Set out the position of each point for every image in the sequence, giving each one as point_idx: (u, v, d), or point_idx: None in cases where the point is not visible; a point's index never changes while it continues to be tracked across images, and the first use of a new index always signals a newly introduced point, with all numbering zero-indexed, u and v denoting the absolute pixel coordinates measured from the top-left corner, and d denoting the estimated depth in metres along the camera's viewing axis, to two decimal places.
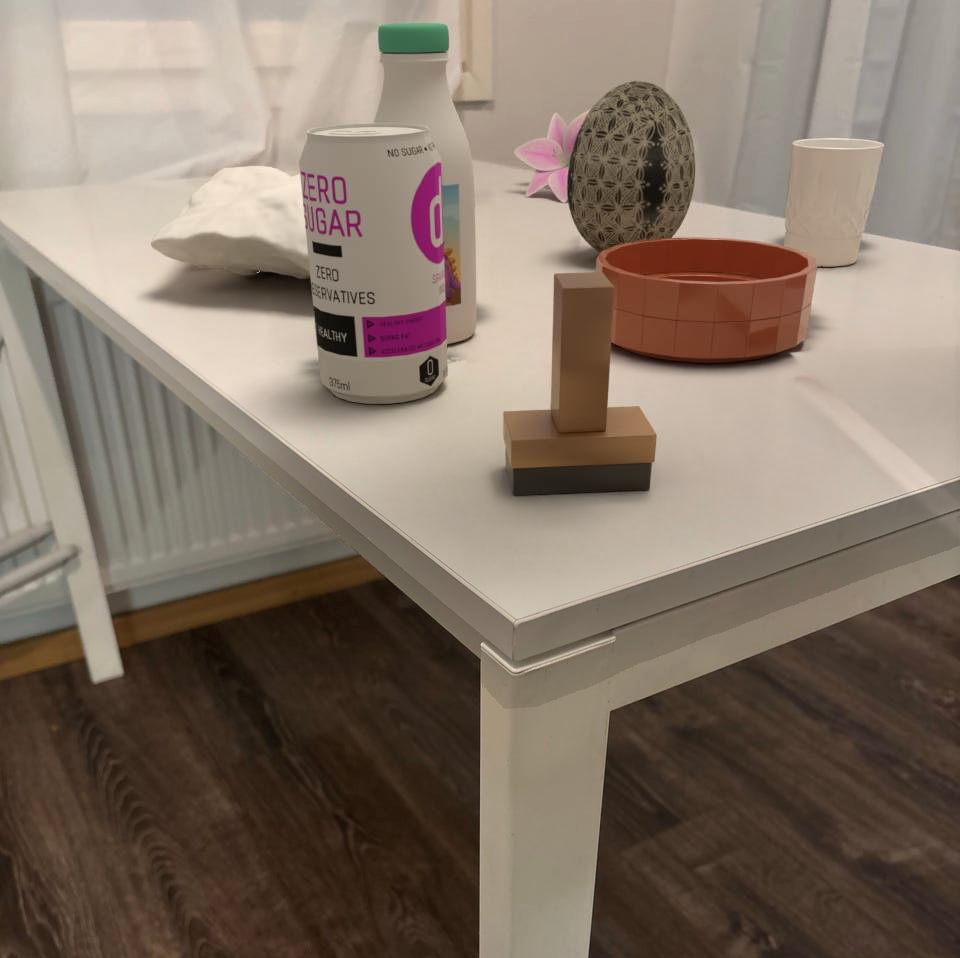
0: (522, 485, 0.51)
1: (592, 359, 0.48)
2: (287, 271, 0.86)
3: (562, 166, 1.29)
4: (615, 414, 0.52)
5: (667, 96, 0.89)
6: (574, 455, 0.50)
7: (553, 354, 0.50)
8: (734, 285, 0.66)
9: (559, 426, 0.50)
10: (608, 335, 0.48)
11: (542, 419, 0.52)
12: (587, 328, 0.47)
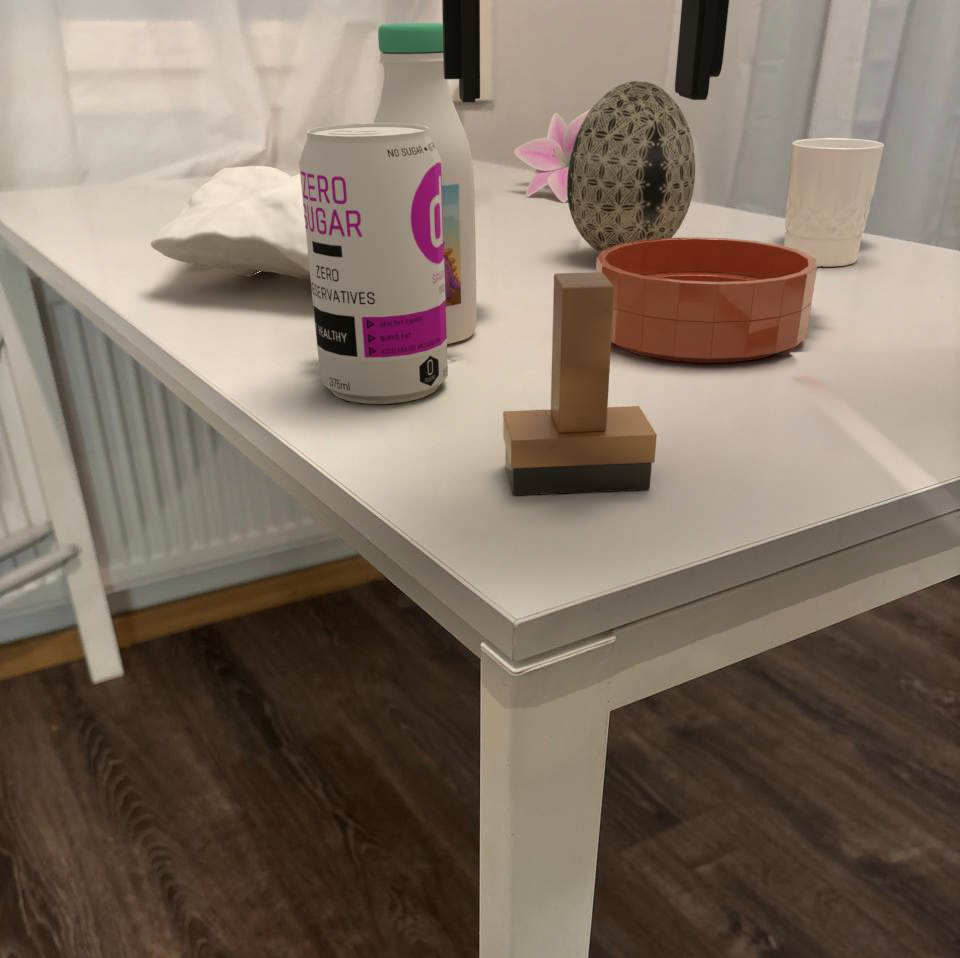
0: (522, 485, 0.51)
1: (592, 359, 0.48)
2: (287, 271, 0.86)
3: (562, 166, 1.29)
4: (615, 414, 0.52)
5: (667, 96, 0.89)
6: (574, 455, 0.50)
7: (553, 354, 0.50)
8: (734, 285, 0.66)
9: (559, 426, 0.50)
10: (608, 335, 0.48)
11: (542, 419, 0.52)
12: (587, 328, 0.47)
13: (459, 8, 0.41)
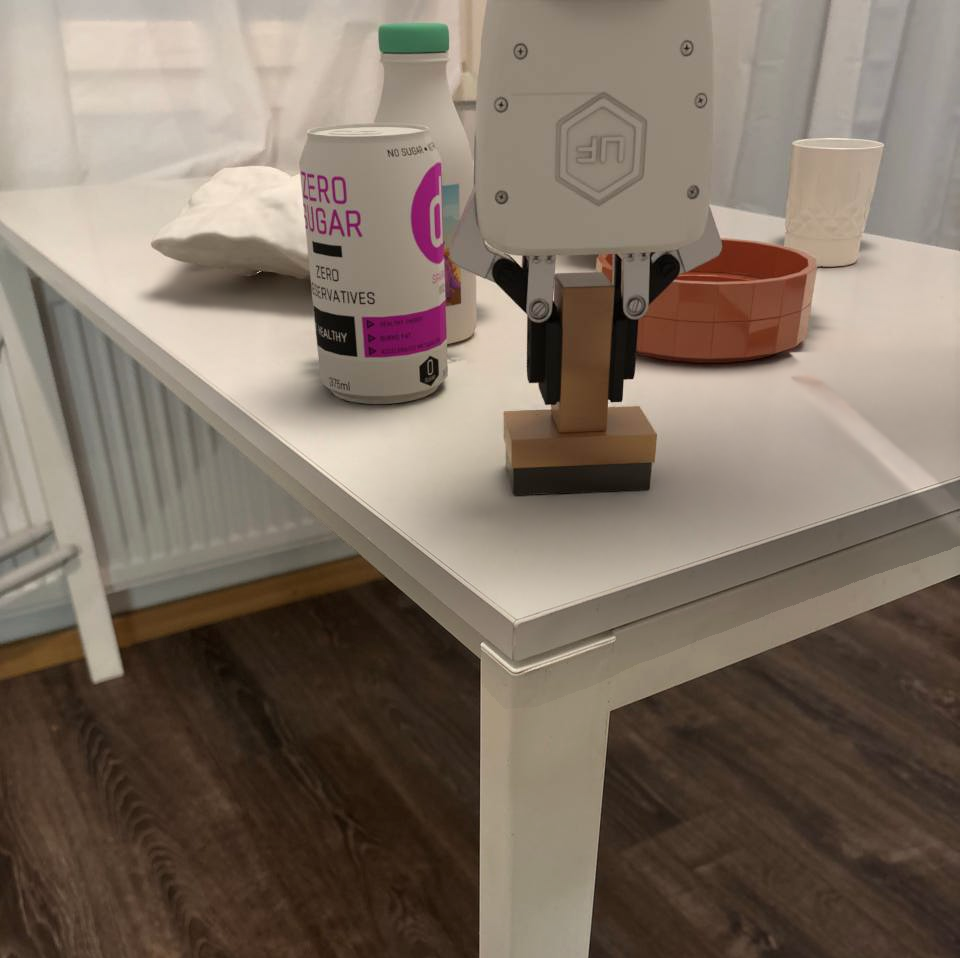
0: (522, 485, 0.51)
1: (592, 359, 0.48)
2: (287, 271, 0.86)
3: None
4: (615, 414, 0.52)
5: None
6: (574, 455, 0.50)
7: None
8: (734, 285, 0.66)
9: (559, 426, 0.50)
10: (608, 335, 0.48)
11: (542, 419, 0.52)
12: (587, 328, 0.47)
13: (544, 333, 0.48)
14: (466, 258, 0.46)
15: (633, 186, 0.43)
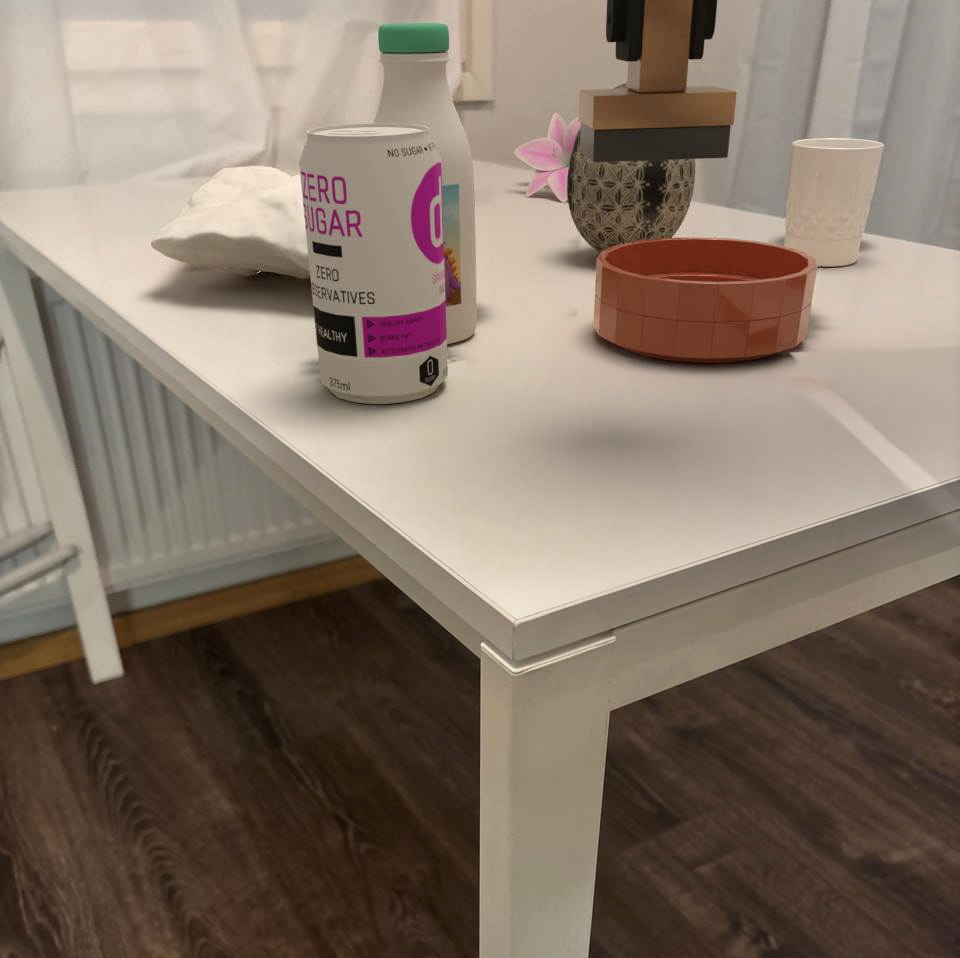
0: (603, 150, 0.51)
1: (675, 6, 0.49)
2: (287, 271, 0.86)
3: (562, 166, 1.29)
4: (691, 88, 0.53)
5: None
6: (655, 115, 0.51)
7: None
8: (734, 285, 0.66)
9: (640, 85, 0.50)
10: None
11: (619, 90, 0.52)
12: None
13: None
14: None
15: None
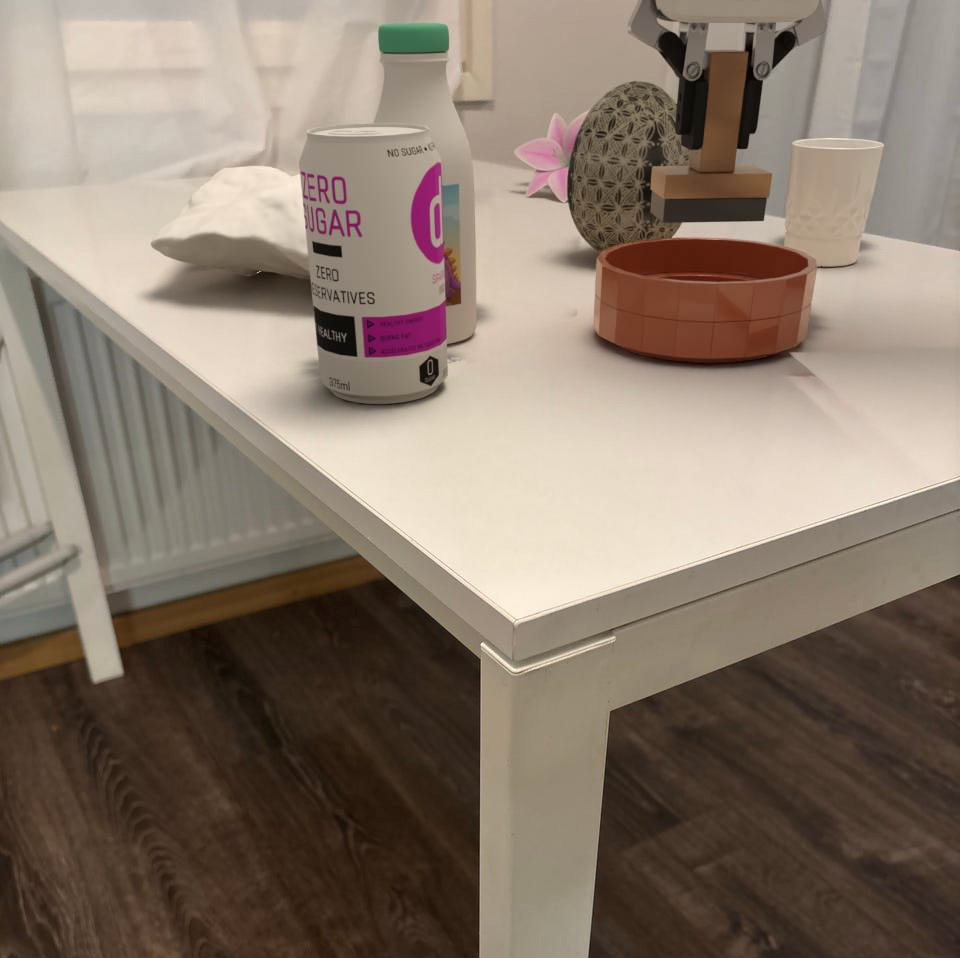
0: (670, 214, 0.68)
1: (728, 111, 0.66)
2: (287, 271, 0.86)
3: (562, 166, 1.29)
4: (737, 167, 0.70)
5: (667, 96, 0.89)
6: (711, 189, 0.68)
7: None
8: (734, 285, 0.66)
9: (700, 167, 0.67)
10: (741, 91, 0.65)
11: (683, 169, 0.69)
12: (727, 85, 0.65)
13: (693, 92, 0.66)
14: (642, 30, 0.64)
15: None
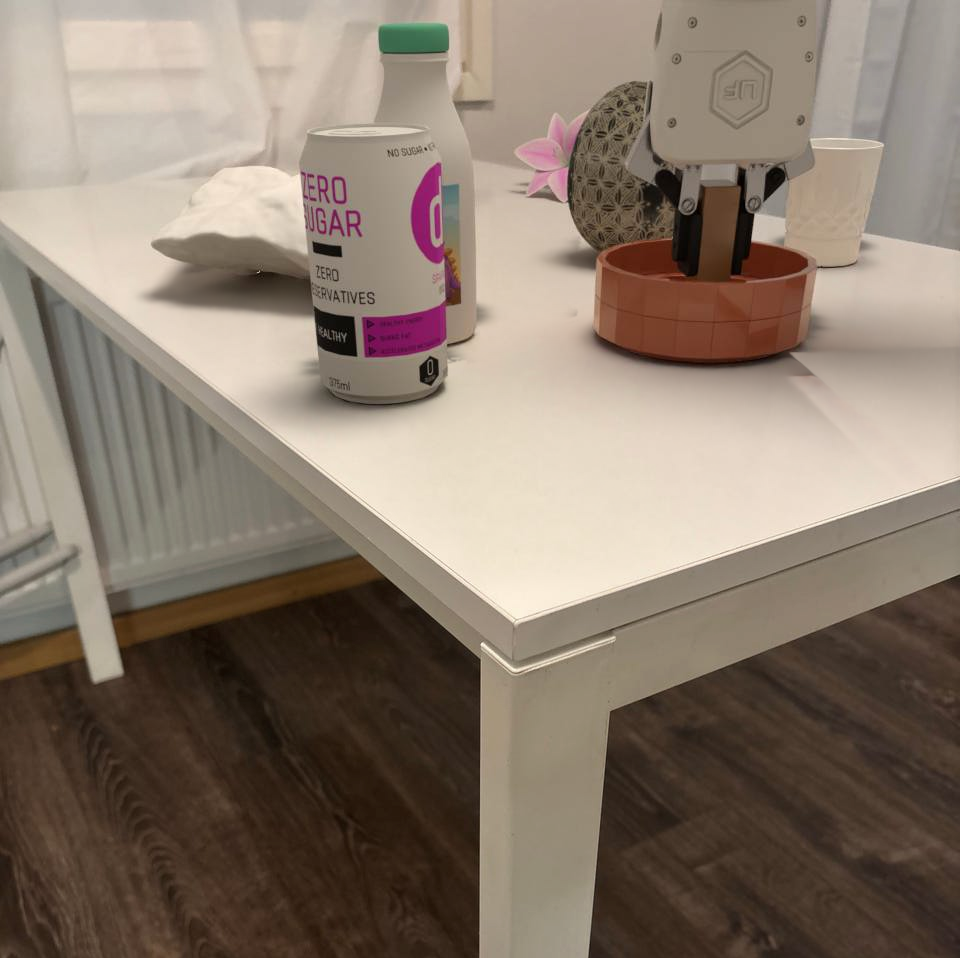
0: None
1: (722, 239, 0.69)
2: (287, 271, 0.86)
3: (562, 166, 1.29)
4: None
5: None
6: None
7: None
8: (734, 285, 0.66)
9: None
10: (734, 222, 0.68)
11: None
12: (720, 217, 0.68)
13: (688, 224, 0.68)
14: (639, 168, 0.67)
15: (761, 115, 0.63)
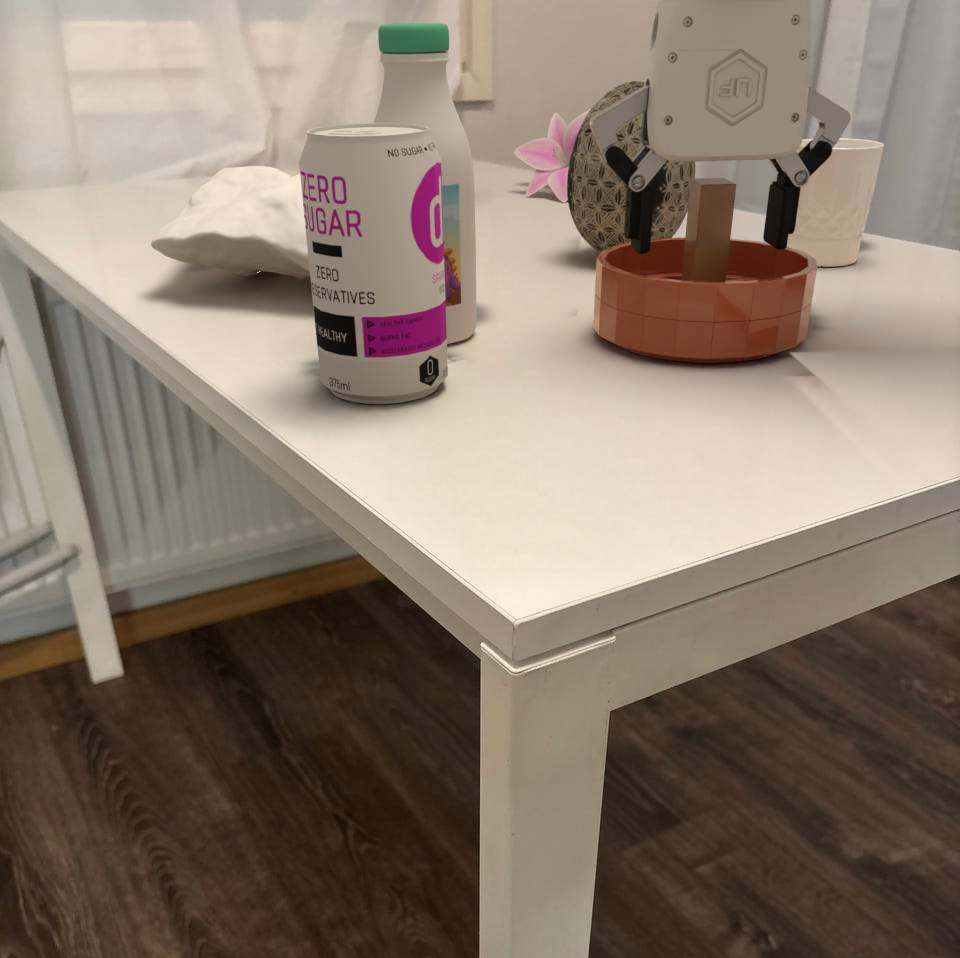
0: None
1: (718, 237, 0.69)
2: (287, 271, 0.86)
3: (562, 166, 1.29)
4: None
5: None
6: None
7: (687, 237, 0.72)
8: (734, 285, 0.66)
9: None
10: (730, 220, 0.69)
11: None
12: (716, 214, 0.69)
13: (639, 201, 0.69)
14: (601, 129, 0.66)
15: (756, 112, 0.65)
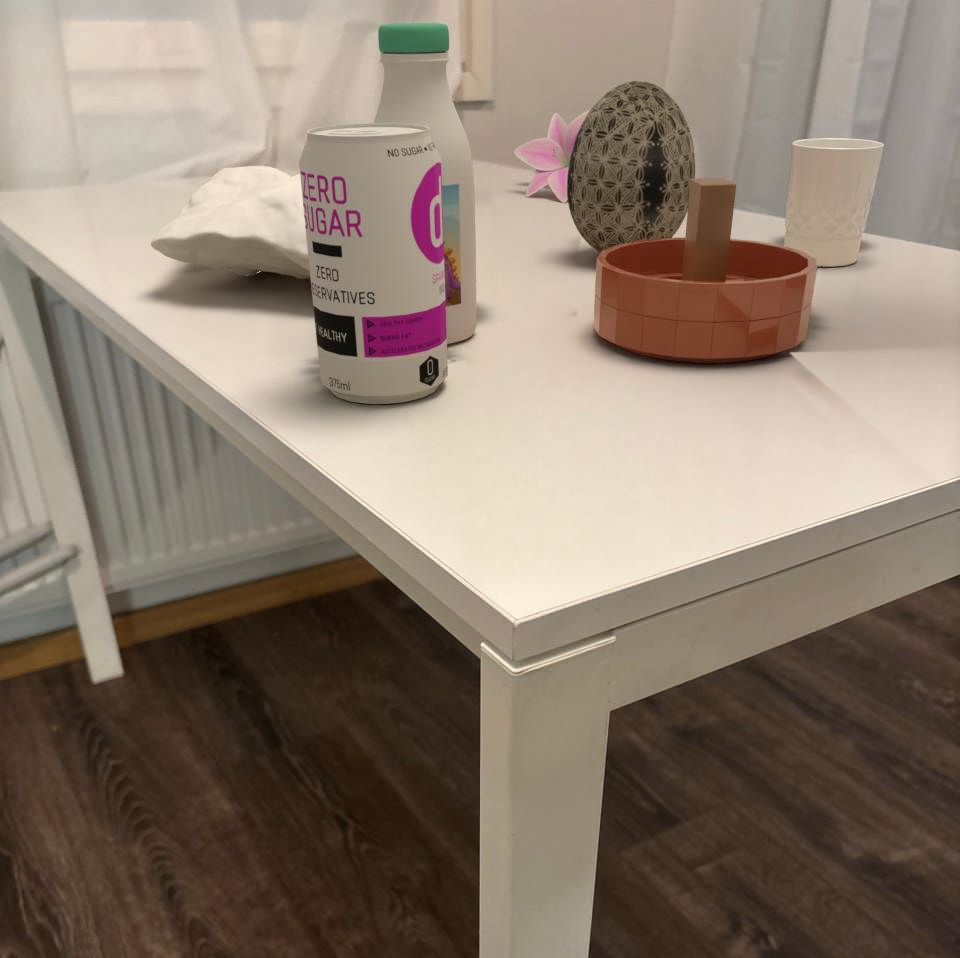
0: None
1: (718, 237, 0.69)
2: (287, 271, 0.86)
3: (562, 166, 1.29)
4: None
5: (667, 96, 0.89)
6: None
7: (687, 237, 0.72)
8: (734, 285, 0.66)
9: None
10: (730, 220, 0.69)
11: None
12: (716, 214, 0.69)
13: None
14: None
15: None
